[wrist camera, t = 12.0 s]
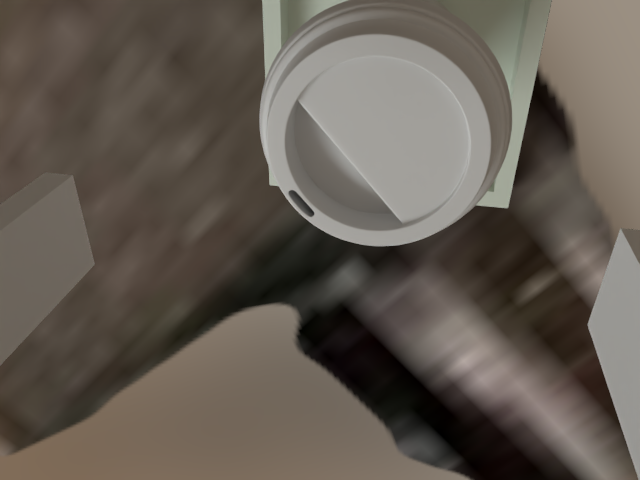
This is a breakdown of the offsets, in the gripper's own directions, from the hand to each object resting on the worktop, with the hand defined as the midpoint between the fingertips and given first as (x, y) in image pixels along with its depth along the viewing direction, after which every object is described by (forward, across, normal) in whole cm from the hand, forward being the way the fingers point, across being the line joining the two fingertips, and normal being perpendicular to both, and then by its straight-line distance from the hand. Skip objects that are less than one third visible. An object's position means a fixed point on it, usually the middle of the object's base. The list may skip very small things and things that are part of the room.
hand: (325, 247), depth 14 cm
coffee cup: (+22, +1, 0) cm, 22 cm away
